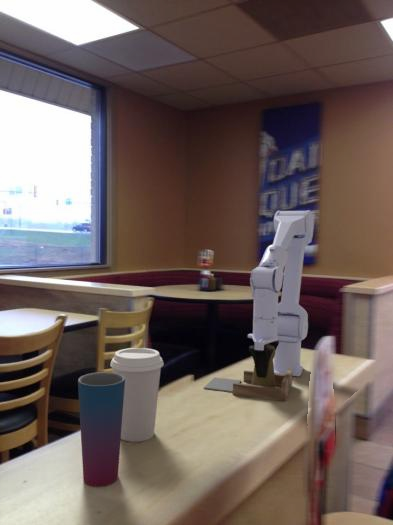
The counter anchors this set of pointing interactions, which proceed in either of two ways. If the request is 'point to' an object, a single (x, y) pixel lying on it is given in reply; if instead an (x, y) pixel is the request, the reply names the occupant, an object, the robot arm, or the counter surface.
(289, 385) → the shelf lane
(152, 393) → the coffee cup
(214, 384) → the mat
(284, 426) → the counter surface
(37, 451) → the counter surface
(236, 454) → the counter surface
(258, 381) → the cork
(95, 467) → the cup
